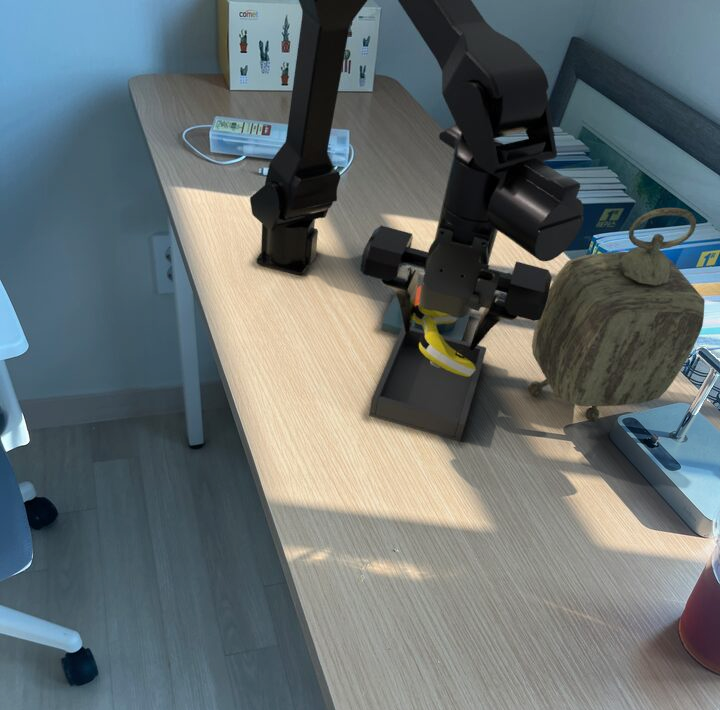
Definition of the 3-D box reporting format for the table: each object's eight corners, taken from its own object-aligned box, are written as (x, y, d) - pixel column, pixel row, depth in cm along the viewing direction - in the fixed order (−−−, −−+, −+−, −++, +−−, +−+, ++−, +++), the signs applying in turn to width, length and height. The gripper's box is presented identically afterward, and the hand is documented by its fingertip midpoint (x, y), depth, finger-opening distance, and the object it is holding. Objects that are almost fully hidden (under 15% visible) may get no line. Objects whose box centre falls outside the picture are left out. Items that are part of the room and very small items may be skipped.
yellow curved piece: (401, 310, 85) (417, 286, 83) (447, 330, 88) (464, 307, 86) (412, 367, 79) (430, 343, 76) (462, 387, 81) (481, 364, 79)
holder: (368, 416, 83) (371, 397, 81) (399, 342, 93) (403, 324, 91) (459, 442, 82) (465, 424, 80) (481, 365, 92) (486, 347, 90)
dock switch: (380, 330, 94) (384, 310, 92) (395, 296, 100) (399, 277, 97) (457, 351, 93) (463, 332, 91) (469, 316, 99) (474, 297, 96)
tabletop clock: (621, 379, 94) (716, 187, 75) (654, 430, 88) (766, 236, 69) (513, 384, 90) (585, 185, 72) (540, 438, 84) (626, 236, 66)
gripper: (354, 220, 67) (336, 359, 78) (562, 275, 65) (512, 409, 76) (386, 168, 74) (365, 301, 86) (573, 216, 72) (525, 346, 84)
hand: (439, 339), depth 83 cm, fingers closed on yellow curved piece, 7 cm apart
